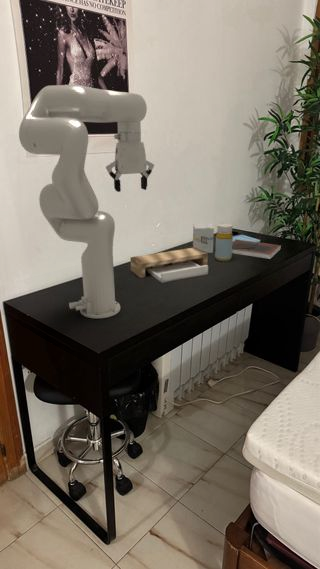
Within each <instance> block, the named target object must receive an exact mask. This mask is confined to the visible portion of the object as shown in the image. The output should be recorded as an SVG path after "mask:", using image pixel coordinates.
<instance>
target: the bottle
mask: <svg viewBox="0 0 320 569" xmlns="http://www.w3.org/2000/svg"><path fill="white" fill-rule="evenodd" d="M216 227H217V228H216V230H217V231H216V235H215V245H214V246H215V248H214V249H215V250H214V258H215V260H216V261H218V262H229V261H230V260H231V259H232V256H233V255H232V254H233V253H232V241H233V224H231V223H224V222H223V223H218V224H217V226H216Z"/></svg>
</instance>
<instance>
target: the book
mask: <svg viewBox="0 0 320 569" xmlns="http://www.w3.org/2000/svg"><path fill="white" fill-rule="evenodd" d="M281 246H282V245H279V244H272V243H265V242H252V241H244V240H237V239H236V240H235V241H233V242H232V254H236V255H242V256H248V257H249V256H250V257H255V258H262V259H266V260H267V259H269V260H271V259H272V258H273V257H274V256H275V255H276V254H277V253H278V252H279V251H280V250H281Z"/></svg>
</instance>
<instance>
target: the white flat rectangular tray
mask: <svg viewBox="0 0 320 569" xmlns="http://www.w3.org/2000/svg"><path fill="white" fill-rule="evenodd" d="M145 272H146V273H147V274H150V275H151V276H152V277H153V278H155V279H156V280H158V281H159V282H161V283H162V284H163V283H168V282H173V281H179V280H184V279H189V278H195V277H200V276H205V275H208V274H209V265H208V264H207V265H204V266H201V265H199V264H197V263H195V262H193V261H190V260H188V262H183V263H181V264H175V265H165V266H163V267H157V268H149V267H146V269H145Z"/></svg>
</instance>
